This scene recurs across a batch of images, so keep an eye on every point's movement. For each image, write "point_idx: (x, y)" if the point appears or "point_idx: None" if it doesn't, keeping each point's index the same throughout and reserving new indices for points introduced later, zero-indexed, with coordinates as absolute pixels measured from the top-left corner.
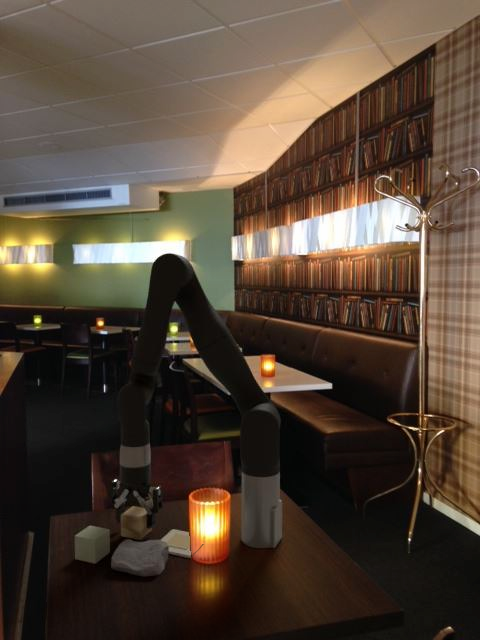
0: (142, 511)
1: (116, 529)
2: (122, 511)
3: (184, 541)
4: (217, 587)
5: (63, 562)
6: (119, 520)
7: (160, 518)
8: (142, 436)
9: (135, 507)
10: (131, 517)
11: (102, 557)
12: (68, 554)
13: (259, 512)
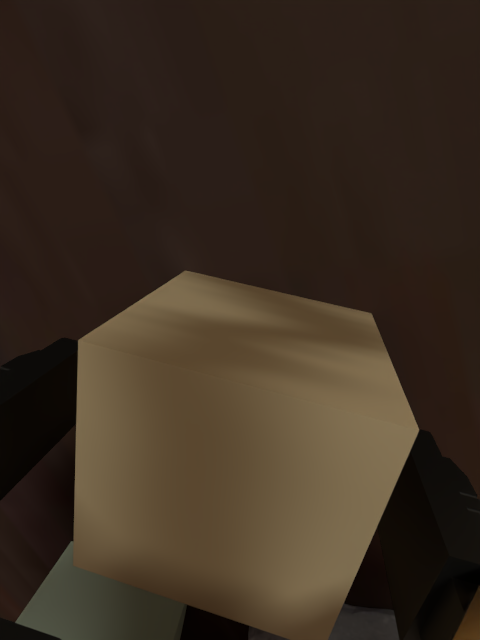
0: (289, 493)
1: (86, 334)
2: (28, 424)
3: None
4: None
5: None
6: (75, 421)
7: (402, 21)
8: None
9: (136, 383)
10: (211, 606)
11: (182, 627)
12: (18, 588)
13: None
